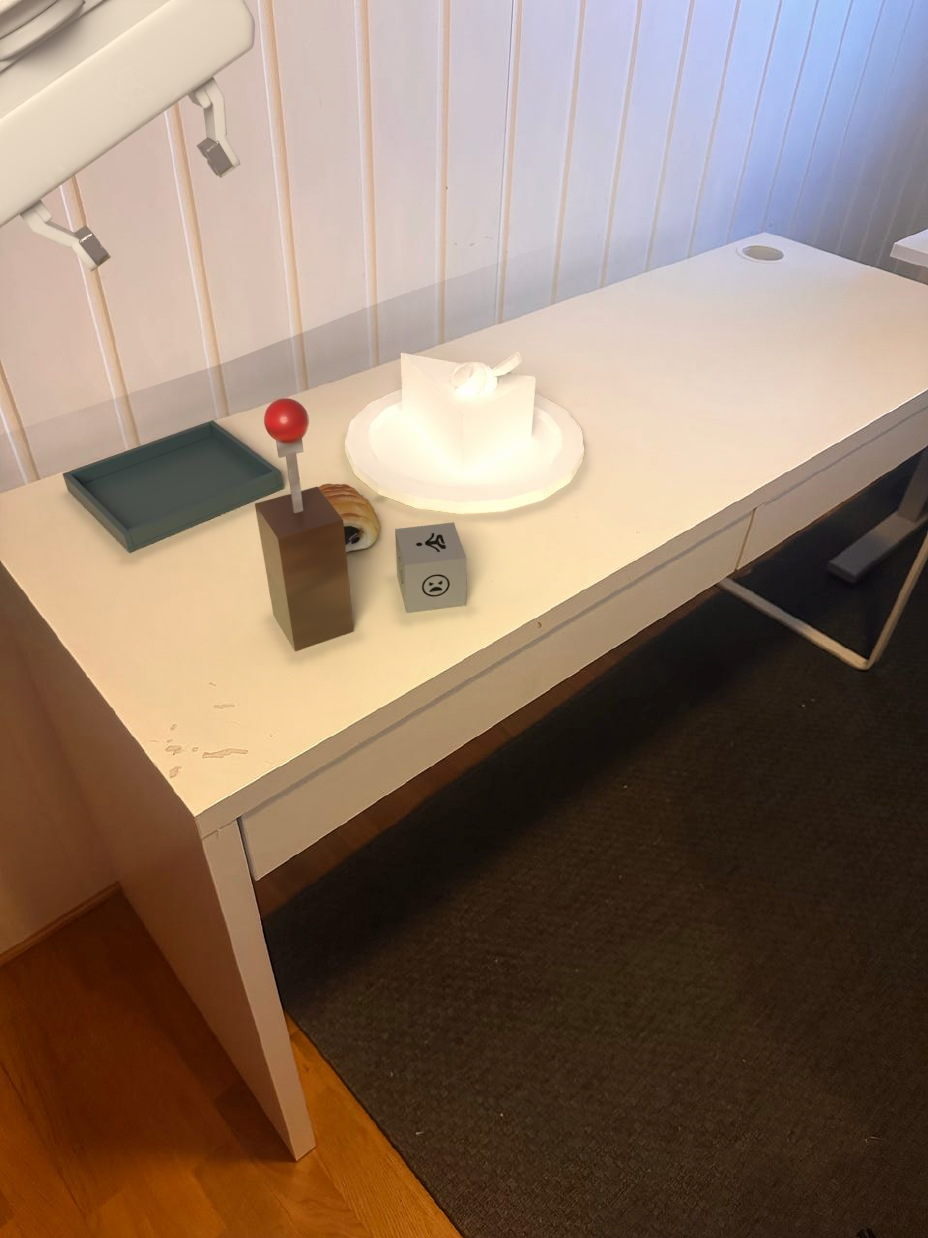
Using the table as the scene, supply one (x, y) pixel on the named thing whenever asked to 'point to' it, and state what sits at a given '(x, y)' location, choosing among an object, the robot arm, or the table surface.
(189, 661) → the table surface
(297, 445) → the red ball lever
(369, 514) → the pastry
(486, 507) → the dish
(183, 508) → the teal serving tray
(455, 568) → the dice cube
